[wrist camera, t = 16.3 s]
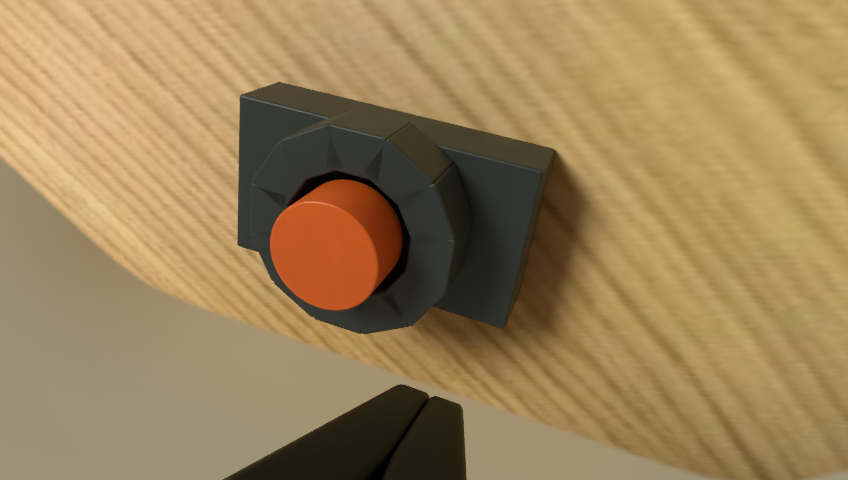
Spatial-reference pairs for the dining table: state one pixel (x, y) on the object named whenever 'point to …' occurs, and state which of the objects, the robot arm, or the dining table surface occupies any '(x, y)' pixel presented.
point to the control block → (398, 199)
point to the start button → (336, 244)
